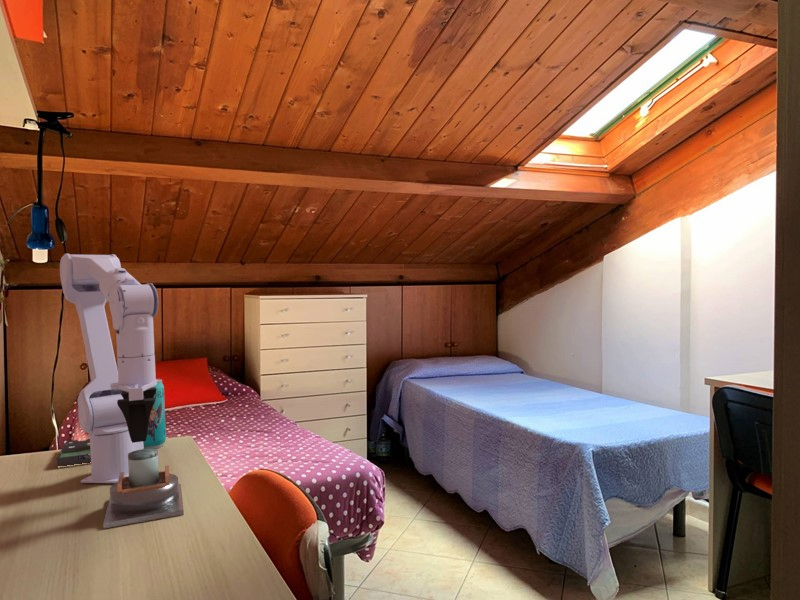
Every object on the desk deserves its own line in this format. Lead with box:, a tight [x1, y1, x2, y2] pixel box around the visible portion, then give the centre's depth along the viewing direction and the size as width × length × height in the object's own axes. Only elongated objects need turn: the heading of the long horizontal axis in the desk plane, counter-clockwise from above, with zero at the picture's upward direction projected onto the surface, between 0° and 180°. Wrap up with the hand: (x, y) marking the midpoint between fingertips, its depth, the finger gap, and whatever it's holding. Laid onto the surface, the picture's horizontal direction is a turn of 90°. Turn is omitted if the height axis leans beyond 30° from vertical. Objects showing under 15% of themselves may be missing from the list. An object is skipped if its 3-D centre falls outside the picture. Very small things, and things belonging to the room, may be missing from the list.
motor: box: [102, 465, 185, 530], centre depth 90 cm, size 13×11×5 cm
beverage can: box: [143, 378, 167, 450], centre depth 126 cm, size 6×6×15 cm
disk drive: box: [56, 438, 91, 467], centre depth 121 cm, size 10×3×15 cm
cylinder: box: [128, 448, 160, 488], centre depth 90 cm, size 4×4×5 cm
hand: (139, 436), depth 95 cm, fingers open, 7 cm apart
